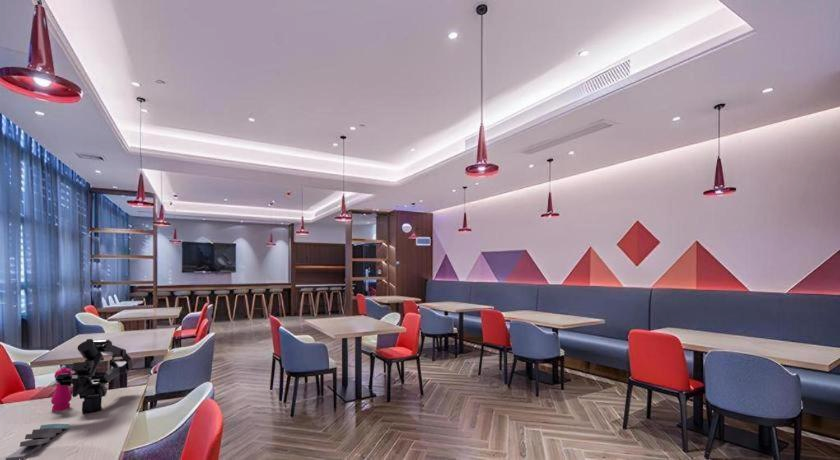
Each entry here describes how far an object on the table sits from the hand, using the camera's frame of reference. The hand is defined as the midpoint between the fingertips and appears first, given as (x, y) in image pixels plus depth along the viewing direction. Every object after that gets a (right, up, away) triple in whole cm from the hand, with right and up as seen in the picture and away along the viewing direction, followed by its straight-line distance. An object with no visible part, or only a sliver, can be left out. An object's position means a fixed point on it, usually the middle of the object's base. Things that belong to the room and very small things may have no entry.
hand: (73, 396), depth 171 cm
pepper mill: (-20, -13, +16) cm, 28 cm away
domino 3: (+5, -9, -19) cm, 22 cm away
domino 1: (+5, -9, -23) cm, 26 cm away
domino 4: (+2, -9, -11) cm, 15 cm away
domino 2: (+3, -9, -15) cm, 18 cm away
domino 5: (+1, -10, -7) cm, 12 cm away
